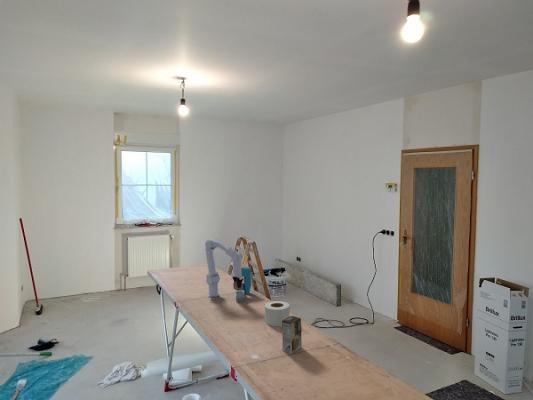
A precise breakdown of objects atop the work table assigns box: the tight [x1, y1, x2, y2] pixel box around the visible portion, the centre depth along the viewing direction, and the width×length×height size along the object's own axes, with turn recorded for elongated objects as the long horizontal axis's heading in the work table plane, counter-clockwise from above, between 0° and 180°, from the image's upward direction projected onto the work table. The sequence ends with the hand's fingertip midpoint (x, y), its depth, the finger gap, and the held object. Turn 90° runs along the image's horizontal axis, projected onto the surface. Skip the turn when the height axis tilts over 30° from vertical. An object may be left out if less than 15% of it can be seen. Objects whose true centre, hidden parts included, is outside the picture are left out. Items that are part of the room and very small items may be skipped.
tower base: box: [235, 296, 246, 303], centre depth 286 cm, size 6×6×4 cm
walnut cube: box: [232, 281, 242, 291], centre depth 286 cm, size 5×5×5 cm
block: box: [236, 266, 252, 295], centre depth 304 cm, size 12×5×20 cm, turn 114°
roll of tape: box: [264, 300, 291, 327], centre depth 243 cm, size 16×15×11 cm
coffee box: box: [281, 315, 303, 354], centre depth 203 cm, size 9×6×16 cm
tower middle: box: [235, 290, 246, 299], centre depth 286 cm, size 6×6×4 cm
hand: (237, 286), depth 286 cm, fingers closed on walnut cube, 5 cm apart
